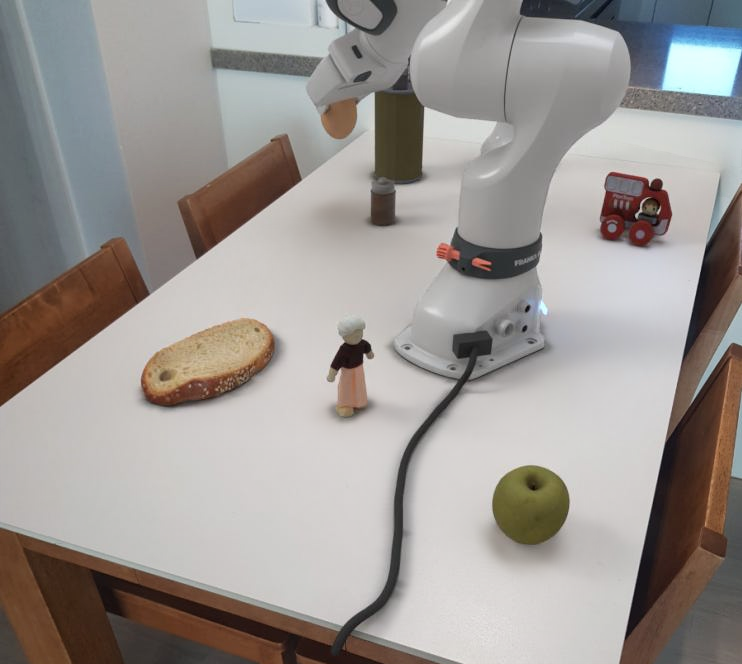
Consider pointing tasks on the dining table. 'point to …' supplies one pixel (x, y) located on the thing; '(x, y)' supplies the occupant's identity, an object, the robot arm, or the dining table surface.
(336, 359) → the grandmother figurine
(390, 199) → the pepper shaker
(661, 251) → the dining table surface
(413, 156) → the canister
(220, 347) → the slice of bread
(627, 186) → the toy fire truck
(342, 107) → the egg
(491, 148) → the flower vase
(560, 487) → the apple
